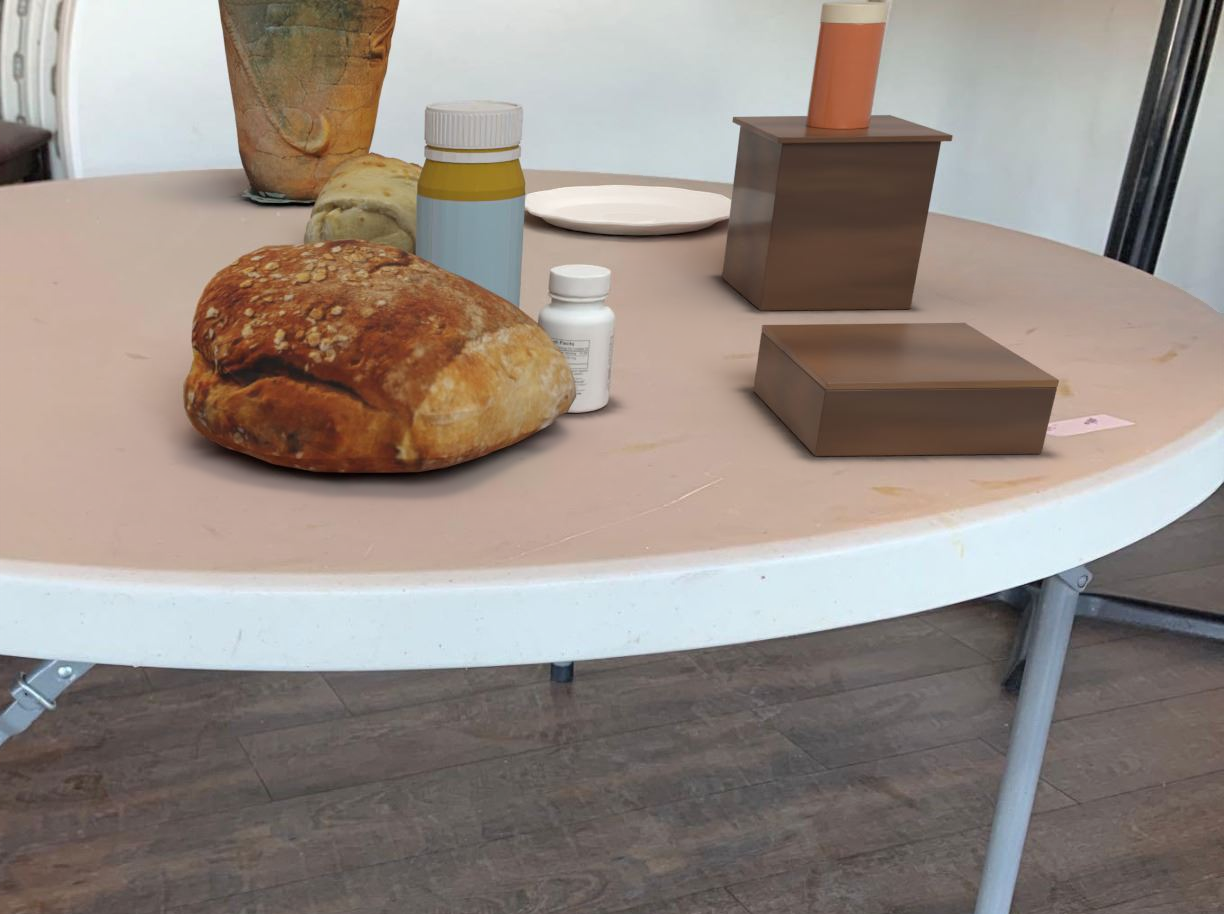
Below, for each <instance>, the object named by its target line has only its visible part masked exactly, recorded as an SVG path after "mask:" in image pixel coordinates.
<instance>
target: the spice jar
mask: <svg viewBox="0 0 1224 914" xmlns="http://www.w3.org/2000/svg"><path fill="white" fill-rule="evenodd" d="M889 6H890V3H889V2H880V1H829V2H823V3H822V5H821V13H820V19H819V26H818V27H819V28H818V33H817V40H816V49H815V55H814V62H813V68H812V76H811V81H810V83H811V84H810V90H809V98H808V104H807V112H806V116H807V118H806V125H807V126H810V127H815V128H825V129H861V128H867V127H869V126H870V119H871V115H872V112H873V108H874V107H873V106H874V100H875V94H876V88H877V81H878V75H879V69H880V65H881V64H880V63H881V57H882V52H883V51H882V50H883V45H884V38H885V32H886V26H887V21H888V20H887V19H888V15H889V13H888V12H889Z"/></svg>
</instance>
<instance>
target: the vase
mask: <svg viewBox="0 0 1224 914" xmlns="http://www.w3.org/2000/svg"><path fill="white" fill-rule="evenodd" d="M217 3H218V10H219V16H220V17H219V18H220V24H221V30H222V37H223V45H224V54H225V60H226V61H225V62H226V68H227V73H228V81H229V86H230V93H231V99H232V105H233V112H234V120H235V121H234V122H235V127H236V137H237V147H238V154H239V157H240V162H241V165H242V168H243V170H244V173H245V175H246V177H247V179H248V183H249V185H250V188H248V189H245V190H243V194H242V195H241V196H242V197H246V198H251V200H252V201H257V202H259V203H277V204H278V203H279V204H280V203H281V204H283V203H284V204H285V203H305V204H310V203H315V202H316V200H317V198H318V195H319V193H320V192H321V191H322V189H323V187H324V185H325V183H326V182H327V180H328V178H329V176H330V174H331V172H332V170H333V169H334V168H335V167H336V166H337V165H338V164H339V163H340V162H342V161H344V160H346V159H349V158H351V157H355V156H360V155H365V154H369V153H370V150H371V146H372V143H373V139H374V135H375V129H376V124H377V118H378V112H379V106H380V98H381V94H382V89H383V84H384V81H385V79H386V76H387V72H388V66H389V65H388V64H389V56H390V52H391V49H392V38H393V35H394V31H395V27H396V20H397V15H398V10H399V6H400V5H399V4H400V0H217Z"/></svg>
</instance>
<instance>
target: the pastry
mask: <svg viewBox="0 0 1224 914" xmlns="http://www.w3.org/2000/svg"><path fill="white" fill-rule="evenodd" d="M422 169H423V166H421V165H420V164H419V163H414V162H406V161H404V160H403V159H399V158H396V157H388V156H384V155H383V154H379V153H376V152H373V151H370V152H369V154H365V155H360V156H355V157H351V158H349V159H346V160H344V161H342V162H340V163H339V164H338V165H337V166H336V167H335V168H334V169H333V170H332V172H331V174H330V176H329V178H328V180H327V182H326V183H325V185H324V187H323V189H322V191H321V192H320V193H319V195H318V198H317V200H316V202H314V205H313V207H312V210H311V213H310V218H309V220H308V222H307V223H306V225H305V231H304V232H305V233H304V237H303V243H302V244H306V243H315V242H321V241H326V240H332V239H361V240H365V241H368V242H372V243H375V244H385V245H390V246H393V247H395V248H398V249H400V250H403V251H406V252H408V253H411V254H414V255H416V205H417V183H418V180H419V177H420V174H421V171H422Z"/></svg>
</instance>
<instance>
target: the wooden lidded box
mask: <svg viewBox="0 0 1224 914" xmlns="http://www.w3.org/2000/svg"><path fill="white" fill-rule="evenodd" d="M760 331H761V333H760V340H759V347H758V354H757V360H756V361H757V362H756V370H755V377H754V384H753V392H754V393H755V394H756V396H758V397H759V398H760V399H761V400H762V401H763V403H764V404H765V405H766V406H767V407H768V408H769V409H770V410H771V411H772V412H773V413H774V414H775V415H776V417H778V418H779V419H780V421H781V422H782V423H783V424H784V425H785V426H786V428H788V429H789V430H790V431H791V432H792V433H793V435H795V437H796V438H797V439H798V440H799V441H800V442H801V443H802V444H803V445H804V446H805V447H806V449H808V451H810V452H811V454H813V456H814V457H861V456H862V457H865V456H878V457H879V456H952V455H953V456H954V455H955V456H958V455H960V456H961V455H962V456H963V455H1040V454H1042V452H1043V449H1044V444H1045V440H1046V435H1047V432H1048V427H1049V423H1050V419H1051V415H1052V411H1053V406H1054V403H1055V398H1056V396H1057V395H1056V394H1057V391H1058V387H1059V383H1060V379H1058V378H1056V377H1055V376H1053V375H1051V374H1050V373H1048V371H1045V370H1043V369H1042V368H1040V367H1039V366H1037V365H1035V364H1034V363H1032V362H1031V361H1029V360H1027V359H1025V358H1024V357H1022V356H1020V355H1019V354H1017V353H1016V352H1014V351H1012V350H1010V349H1009V348H1007V347H1006V346H1004V345H1002V344H1001V343H999V342H997V341H995V340H994V339H993V338H991V337H989V336H988V335H985V334H984V333H983V332H981V331H979V330H978V329H976V328H974V327H973V326H971V325H969V324H967V323H966V322H912V323H910V322H908V323H907V322H905V323H904V322H903V323H899V322H898V323H828V324H827V323H821V324H819V323H818V324H817V323H815V324H814V323H812V324H810V323H809V324H807V323H805V324H762V325H761V330H760Z"/></svg>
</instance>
